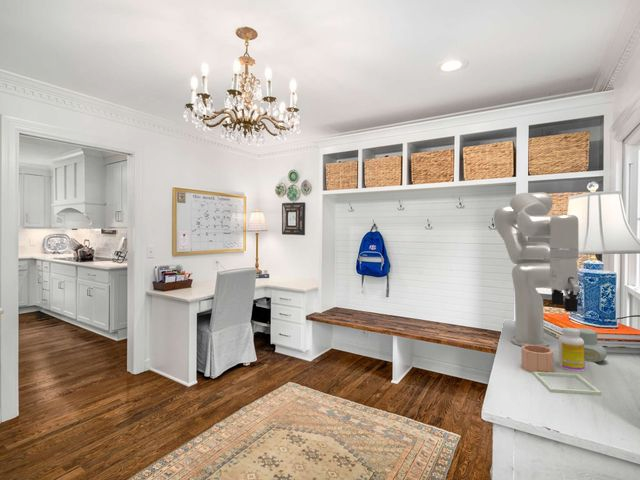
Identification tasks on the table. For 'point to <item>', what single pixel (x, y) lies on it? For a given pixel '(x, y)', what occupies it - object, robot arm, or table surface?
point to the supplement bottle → (571, 350)
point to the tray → (589, 392)
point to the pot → (537, 358)
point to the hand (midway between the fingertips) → (564, 307)
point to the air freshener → (592, 346)
